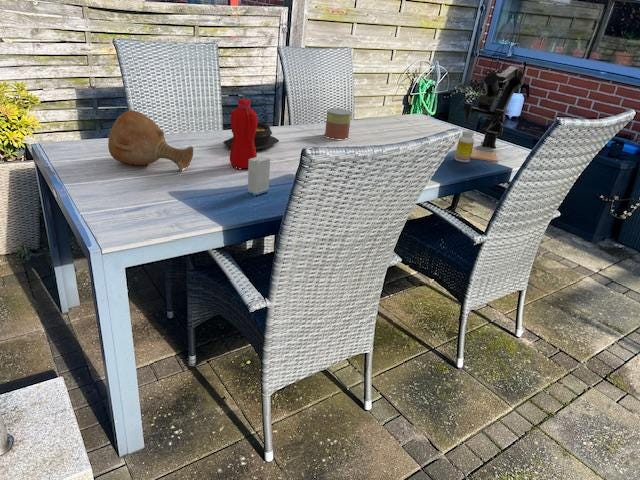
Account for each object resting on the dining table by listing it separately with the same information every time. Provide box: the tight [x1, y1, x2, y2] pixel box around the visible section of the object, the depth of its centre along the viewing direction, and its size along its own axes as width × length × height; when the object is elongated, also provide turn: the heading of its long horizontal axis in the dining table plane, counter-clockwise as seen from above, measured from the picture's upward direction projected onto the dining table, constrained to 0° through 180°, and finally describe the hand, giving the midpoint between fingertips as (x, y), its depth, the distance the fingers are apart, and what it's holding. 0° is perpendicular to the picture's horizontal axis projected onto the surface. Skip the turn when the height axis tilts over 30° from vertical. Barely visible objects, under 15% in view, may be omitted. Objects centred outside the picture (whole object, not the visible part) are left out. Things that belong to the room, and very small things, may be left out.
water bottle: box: [229, 98, 259, 168], centre depth 183 cm, size 9×11×25 cm
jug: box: [107, 109, 194, 172], centre depth 178 cm, size 20×19×30 cm
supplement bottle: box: [454, 129, 475, 163], centre depth 217 cm, size 7×7×13 cm
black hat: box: [223, 122, 280, 150], centre depth 211 cm, size 25×19×8 cm
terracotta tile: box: [470, 148, 499, 163], centre depth 228 cm, size 12×12×1 cm
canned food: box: [324, 107, 352, 139], centre depth 233 cm, size 11×11×12 cm
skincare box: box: [247, 155, 271, 193], centre depth 165 cm, size 6×4×12 cm
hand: (475, 128), depth 220 cm, fingers open, 9 cm apart
